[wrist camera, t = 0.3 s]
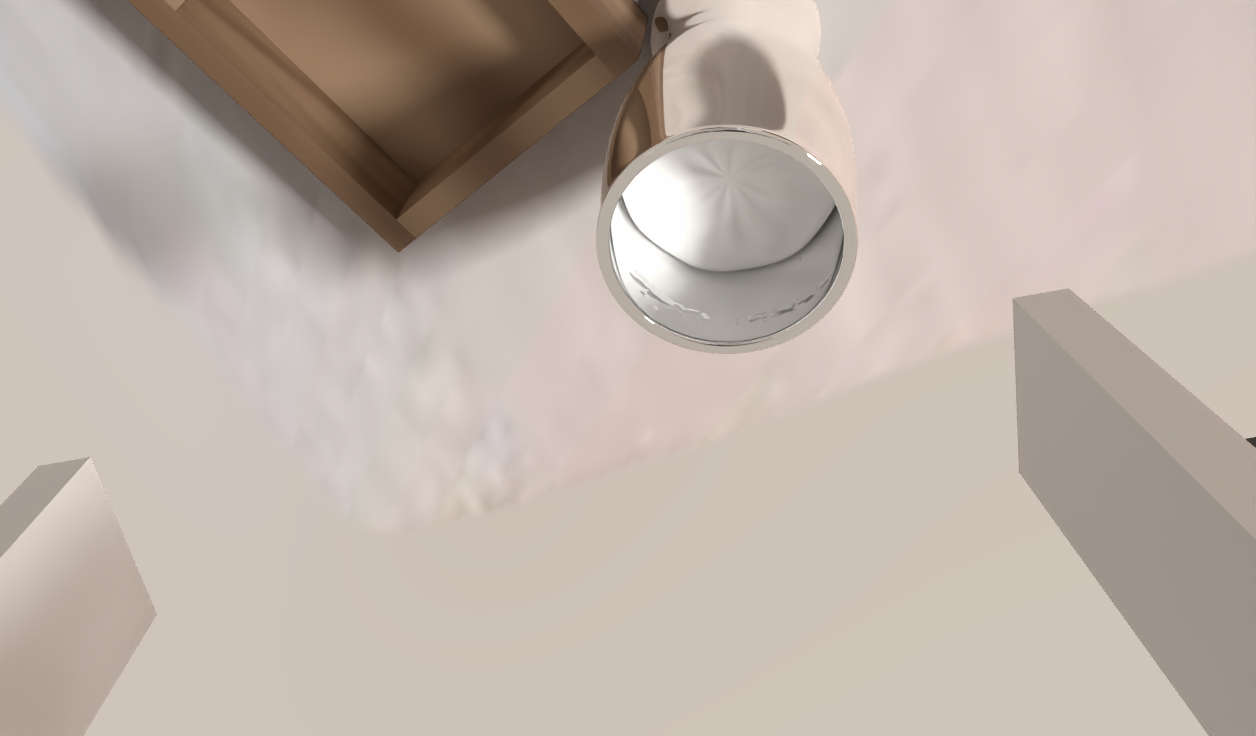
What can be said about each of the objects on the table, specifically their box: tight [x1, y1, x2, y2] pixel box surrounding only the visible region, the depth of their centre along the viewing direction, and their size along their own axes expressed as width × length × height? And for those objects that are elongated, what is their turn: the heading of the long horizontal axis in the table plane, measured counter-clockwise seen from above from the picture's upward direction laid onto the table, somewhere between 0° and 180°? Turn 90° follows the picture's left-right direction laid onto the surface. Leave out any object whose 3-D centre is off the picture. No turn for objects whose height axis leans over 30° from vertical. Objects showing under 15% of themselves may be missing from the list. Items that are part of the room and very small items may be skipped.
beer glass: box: [596, 0, 858, 354], centre depth 34 cm, size 7×7×15 cm
